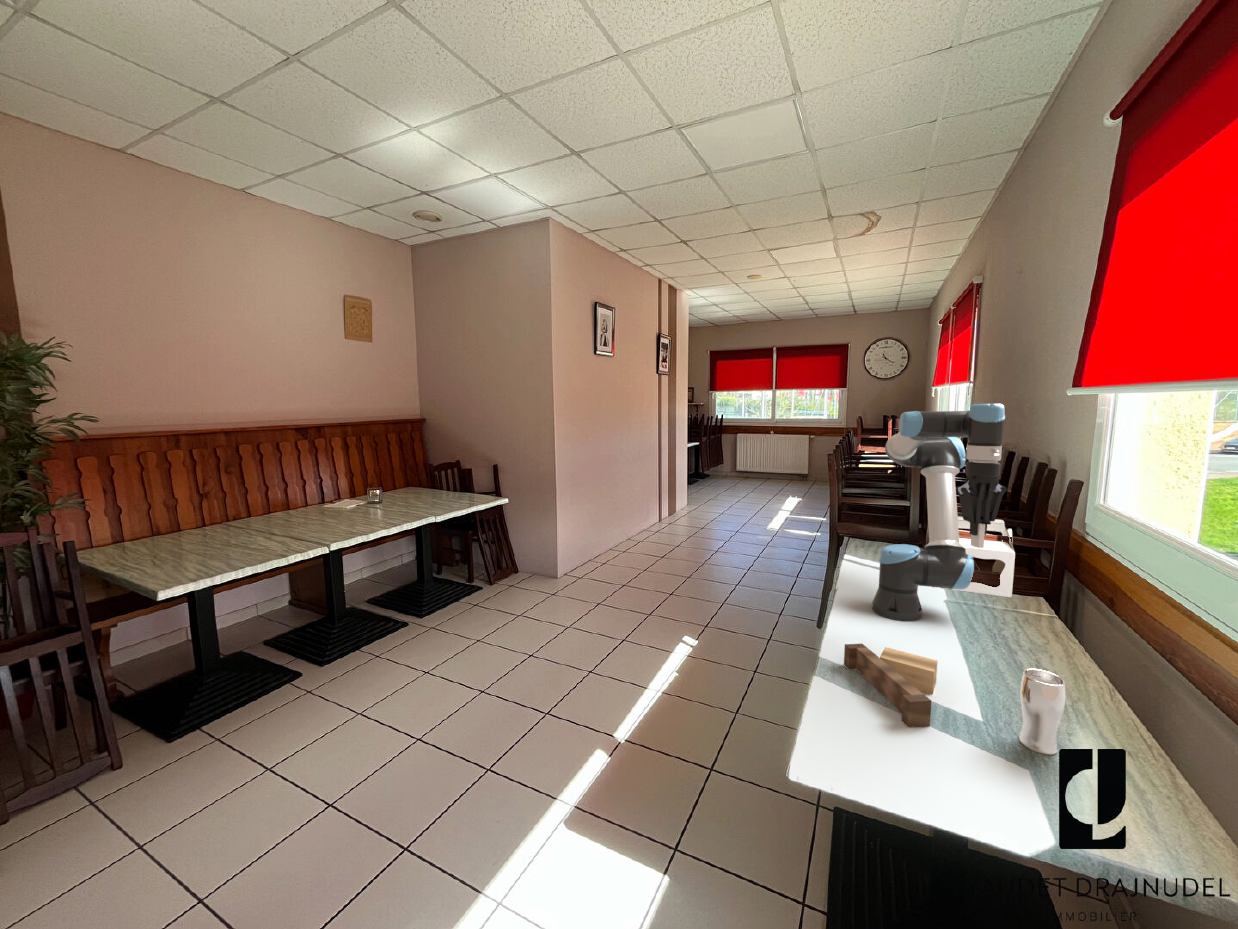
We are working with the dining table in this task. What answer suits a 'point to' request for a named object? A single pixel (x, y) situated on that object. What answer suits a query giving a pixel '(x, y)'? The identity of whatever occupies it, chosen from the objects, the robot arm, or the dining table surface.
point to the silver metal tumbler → (1041, 709)
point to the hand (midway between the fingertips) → (977, 546)
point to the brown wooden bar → (890, 685)
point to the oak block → (912, 668)
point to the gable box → (992, 550)
